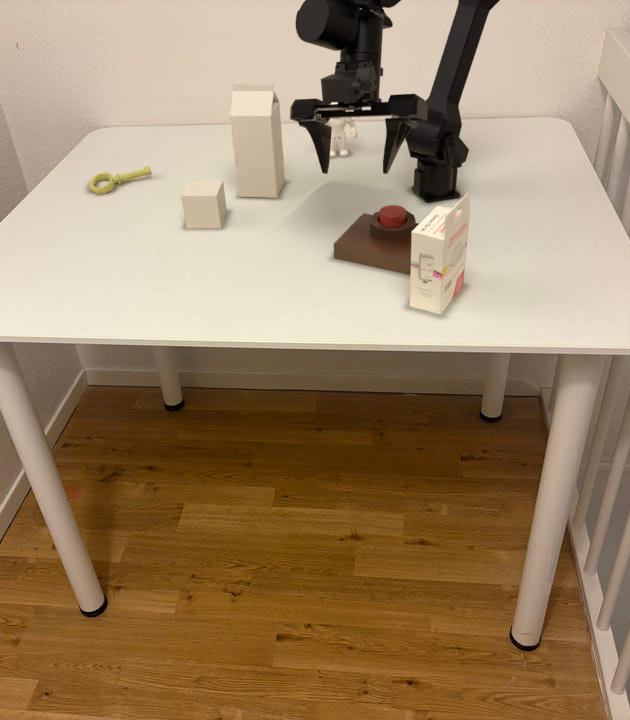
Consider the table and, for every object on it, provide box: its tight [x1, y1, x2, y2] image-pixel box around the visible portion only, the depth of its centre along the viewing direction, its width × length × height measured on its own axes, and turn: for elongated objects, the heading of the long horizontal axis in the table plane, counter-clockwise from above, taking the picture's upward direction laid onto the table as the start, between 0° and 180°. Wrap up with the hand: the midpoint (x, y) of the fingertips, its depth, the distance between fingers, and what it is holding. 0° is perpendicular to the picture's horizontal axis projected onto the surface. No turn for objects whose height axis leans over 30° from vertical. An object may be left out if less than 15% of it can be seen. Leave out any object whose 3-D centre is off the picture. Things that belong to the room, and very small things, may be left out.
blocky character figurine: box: [325, 102, 359, 158], centre depth 141 cm, size 9×4×12 cm, turn 89°
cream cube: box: [180, 179, 228, 229], centre depth 123 cm, size 6×6×6 cm
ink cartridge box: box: [409, 191, 471, 315], centre depth 97 cm, size 9×5×15 cm, turn 148°
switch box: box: [333, 210, 420, 276], centre depth 112 cm, size 11×13×4 cm
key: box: [88, 165, 152, 195], centre depth 140 cm, size 7×12×2 cm, turn 123°
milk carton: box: [229, 83, 286, 199], centre depth 127 cm, size 7×7×19 cm
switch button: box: [379, 204, 407, 226], centre depth 111 cm, size 4×4×2 cm
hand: (354, 173), depth 103 cm, fingers open, 9 cm apart
